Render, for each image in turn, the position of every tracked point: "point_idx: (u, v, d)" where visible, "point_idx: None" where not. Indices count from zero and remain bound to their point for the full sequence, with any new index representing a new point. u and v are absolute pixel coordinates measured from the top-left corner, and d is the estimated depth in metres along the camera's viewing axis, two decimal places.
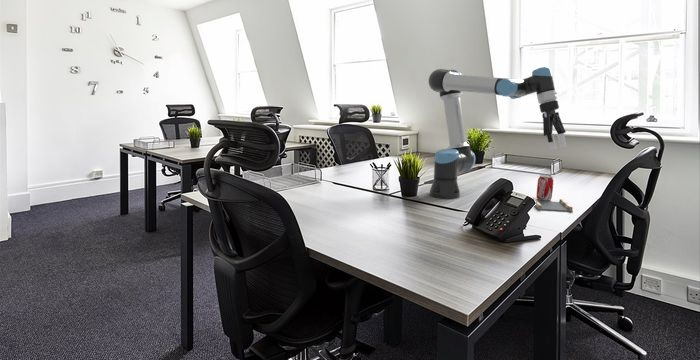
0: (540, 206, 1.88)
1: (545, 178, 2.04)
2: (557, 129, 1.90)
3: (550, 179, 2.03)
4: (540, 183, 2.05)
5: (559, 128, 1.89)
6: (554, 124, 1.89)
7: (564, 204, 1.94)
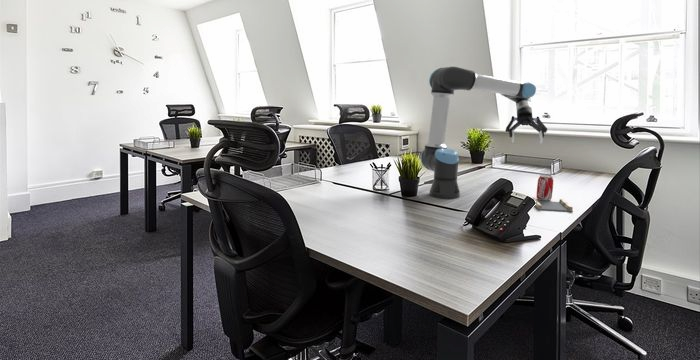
0: (540, 206, 1.88)
1: (545, 178, 2.04)
2: (514, 128, 2.20)
3: (550, 179, 2.03)
4: (540, 183, 2.05)
5: (514, 129, 2.21)
6: (518, 124, 2.21)
7: (564, 204, 1.94)
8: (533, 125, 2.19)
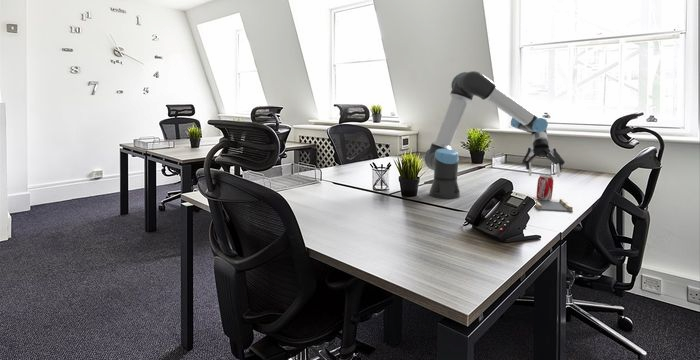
0: (540, 206, 1.88)
1: (545, 178, 2.04)
2: (531, 160, 2.18)
3: (550, 179, 2.03)
4: (540, 183, 2.05)
5: None
6: (535, 156, 2.19)
7: (564, 204, 1.94)
8: (550, 157, 2.18)
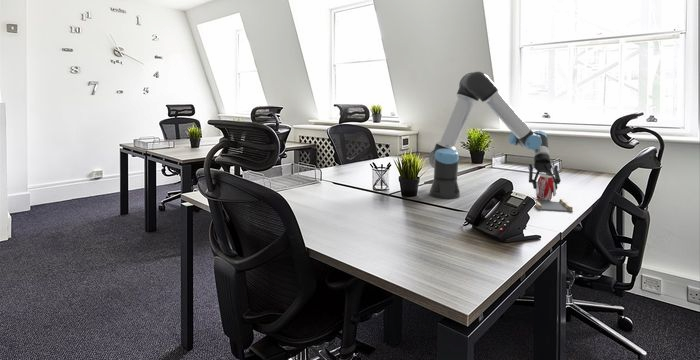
0: (540, 206, 1.88)
1: (545, 178, 2.04)
2: None
3: (550, 179, 2.03)
4: (540, 183, 2.05)
5: None
6: None
7: (564, 204, 1.94)
8: (548, 174, 2.10)
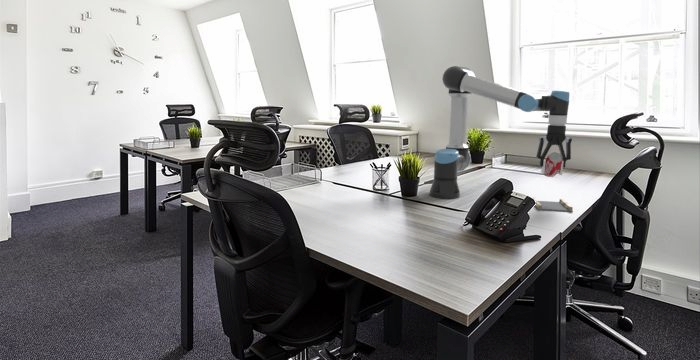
0: (540, 206, 1.88)
1: (553, 163, 1.91)
2: None
3: (559, 163, 1.91)
4: (547, 165, 1.94)
5: None
6: None
7: (564, 204, 1.94)
8: (559, 148, 1.94)
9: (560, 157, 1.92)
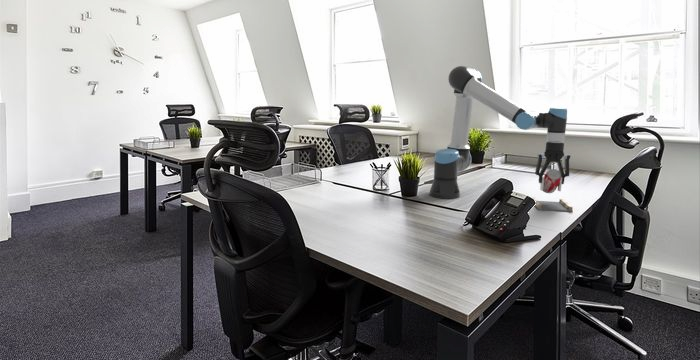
0: (540, 206, 1.88)
1: (552, 179, 1.92)
2: None
3: (557, 180, 1.91)
4: (546, 182, 1.95)
5: None
6: None
7: (564, 204, 1.94)
8: (558, 165, 1.94)
9: (558, 174, 1.92)
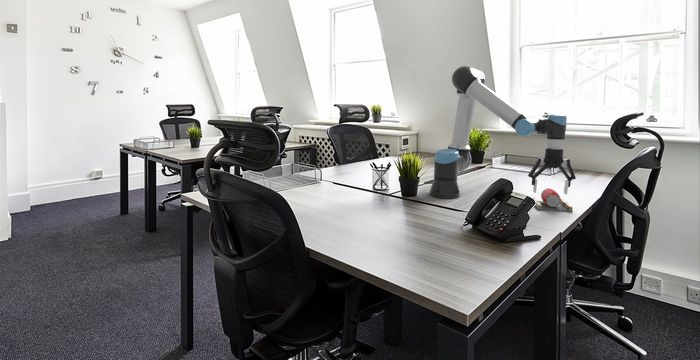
0: (540, 206, 1.88)
1: (550, 206, 1.90)
2: None
3: (555, 206, 1.90)
4: (545, 203, 1.94)
5: None
6: None
7: (564, 204, 1.94)
8: (561, 170, 1.94)
9: (558, 200, 1.89)
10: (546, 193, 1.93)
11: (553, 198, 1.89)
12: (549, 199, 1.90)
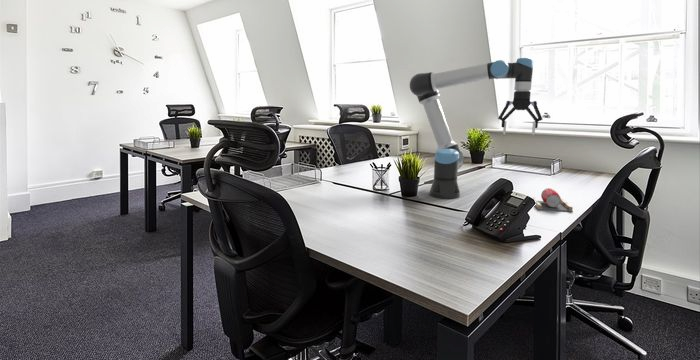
0: (540, 206, 1.88)
1: (550, 206, 1.90)
2: (508, 116, 2.07)
3: None
4: (545, 203, 1.94)
5: None
6: (512, 111, 2.06)
7: (564, 204, 1.94)
8: (528, 112, 2.05)
9: (558, 200, 1.89)
10: (546, 193, 1.93)
11: (553, 198, 1.89)
12: (549, 199, 1.89)
